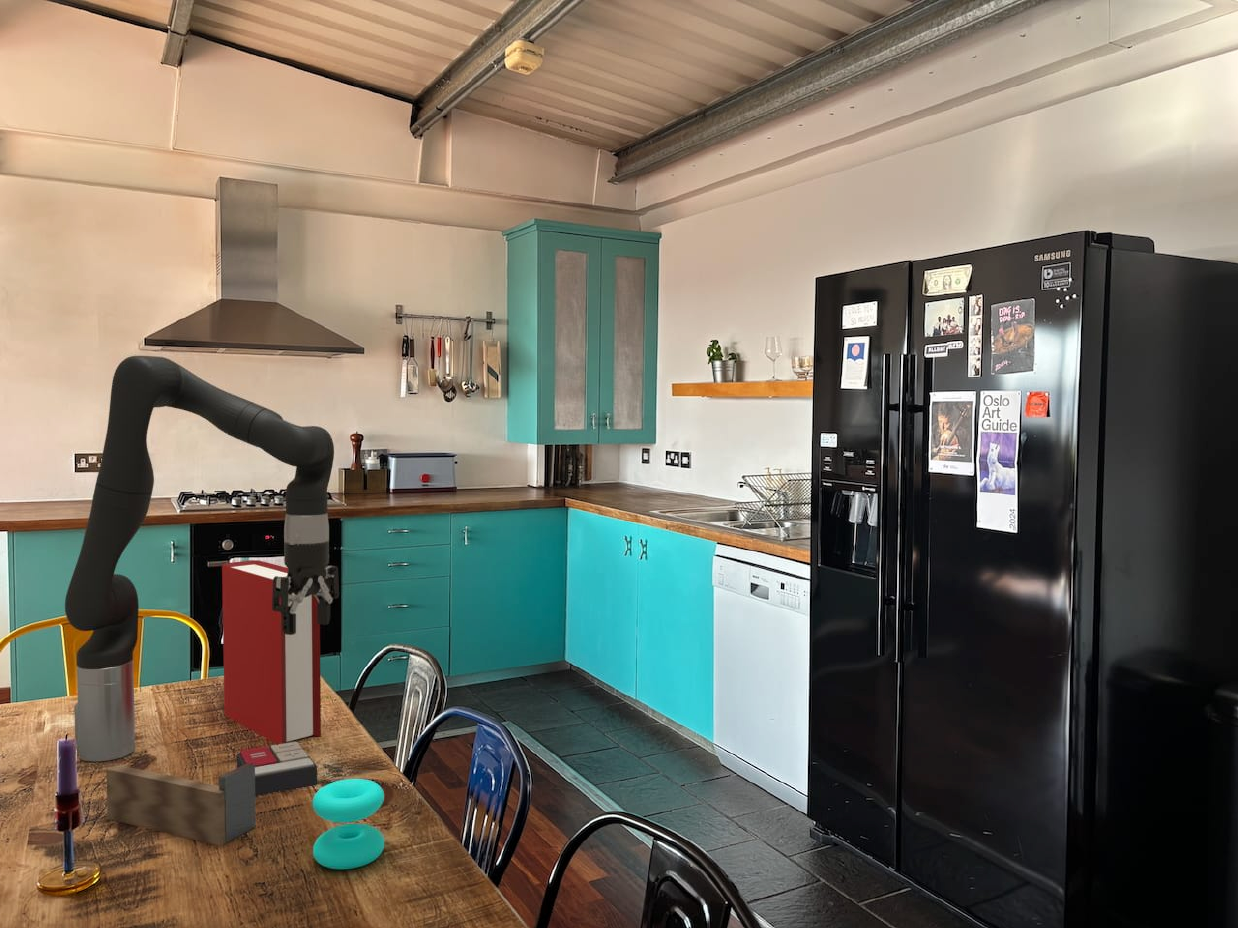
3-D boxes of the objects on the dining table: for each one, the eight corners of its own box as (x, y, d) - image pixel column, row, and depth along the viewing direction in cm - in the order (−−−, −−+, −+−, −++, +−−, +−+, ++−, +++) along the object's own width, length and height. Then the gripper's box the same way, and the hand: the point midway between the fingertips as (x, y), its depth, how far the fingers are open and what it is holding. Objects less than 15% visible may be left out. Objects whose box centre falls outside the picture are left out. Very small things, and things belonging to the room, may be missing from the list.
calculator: (299, 738, 175) (317, 761, 162) (299, 761, 175) (318, 785, 162) (236, 749, 170) (249, 773, 157) (236, 772, 170) (250, 798, 157)
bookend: (220, 841, 141) (218, 776, 140) (249, 825, 146) (248, 762, 146) (226, 843, 140) (225, 777, 140) (255, 826, 146) (254, 763, 145)
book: (321, 736, 186) (319, 576, 184) (282, 747, 180) (280, 581, 178) (258, 705, 205) (256, 559, 203) (221, 713, 199) (219, 563, 197)
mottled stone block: (107, 818, 148) (105, 768, 148) (144, 801, 155) (143, 753, 154) (220, 845, 139) (219, 793, 139) (255, 826, 146) (254, 776, 145)
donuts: (347, 809, 129) (297, 793, 134) (348, 879, 130) (298, 861, 135) (398, 784, 138) (349, 770, 143) (399, 850, 139) (350, 834, 144)
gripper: (318, 532, 175) (317, 618, 176) (260, 542, 162) (260, 635, 163) (350, 535, 172) (350, 623, 173) (294, 545, 159) (294, 640, 160)
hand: (306, 628), depth 168 cm, fingers open, 8 cm apart
